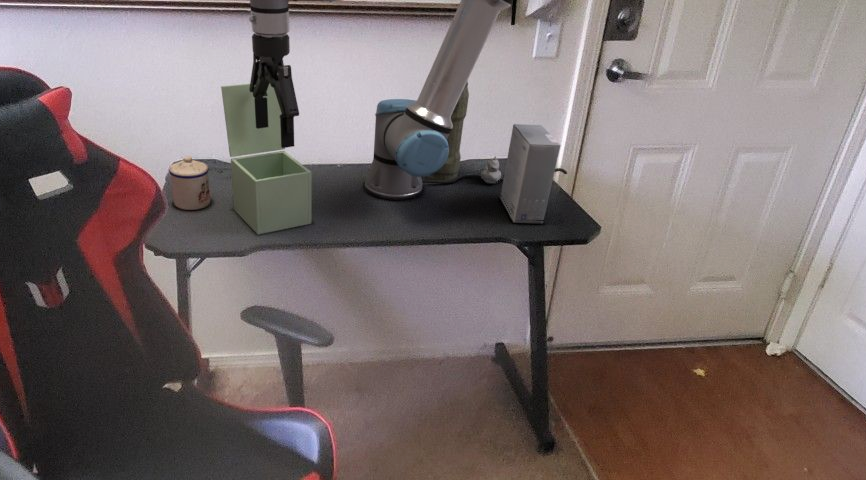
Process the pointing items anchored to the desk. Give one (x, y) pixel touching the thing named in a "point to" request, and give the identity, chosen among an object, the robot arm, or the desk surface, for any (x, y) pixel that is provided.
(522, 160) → the hard drive box
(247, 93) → the bin lid
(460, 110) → the thermos
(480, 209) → the desk surface
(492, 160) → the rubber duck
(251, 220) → the bin
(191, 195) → the teacup with lid
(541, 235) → the desk surface
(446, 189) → the desk surface
